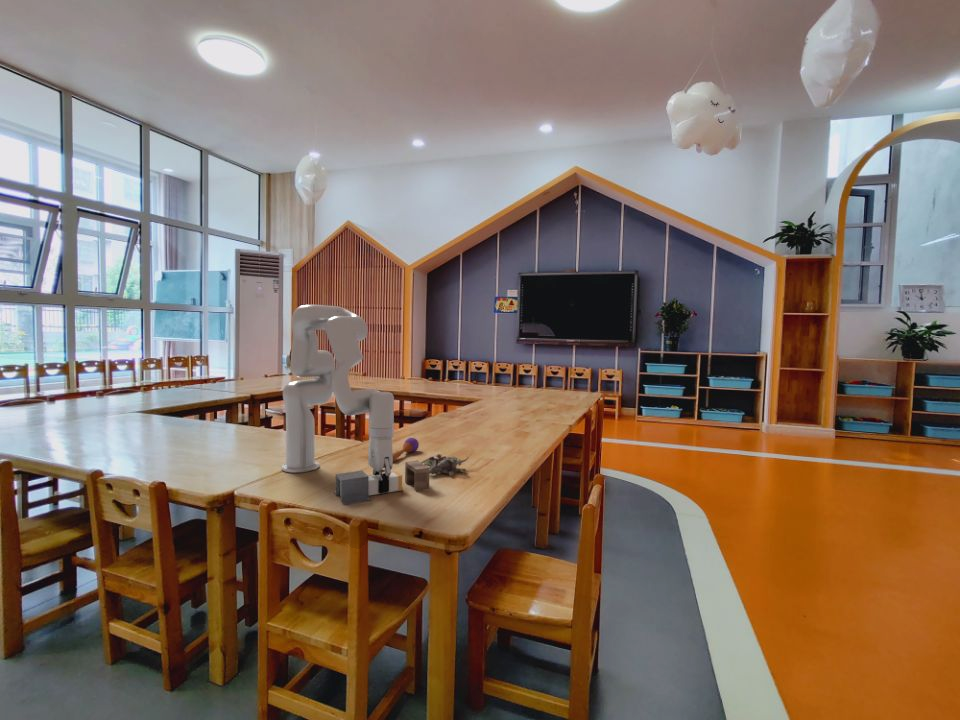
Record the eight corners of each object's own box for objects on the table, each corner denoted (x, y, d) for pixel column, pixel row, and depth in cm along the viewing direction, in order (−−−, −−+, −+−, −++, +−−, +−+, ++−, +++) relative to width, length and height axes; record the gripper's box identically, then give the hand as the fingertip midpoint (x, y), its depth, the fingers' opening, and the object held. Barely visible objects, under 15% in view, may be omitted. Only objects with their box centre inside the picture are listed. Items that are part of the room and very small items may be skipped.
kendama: (382, 451, 181) (406, 436, 200) (385, 466, 181) (409, 450, 200) (396, 450, 179) (419, 435, 198) (399, 465, 179) (422, 449, 198)
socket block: (405, 482, 157) (405, 462, 156) (417, 480, 159) (417, 460, 159) (416, 491, 149) (416, 469, 149) (429, 489, 151) (429, 467, 151)
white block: (340, 495, 144) (340, 479, 143) (396, 486, 153) (396, 471, 153) (344, 500, 140) (344, 484, 139) (402, 490, 149) (402, 475, 149)
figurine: (435, 467, 158) (403, 458, 169) (436, 485, 158) (404, 474, 170) (476, 453, 172) (444, 445, 184) (476, 469, 173) (444, 460, 184)
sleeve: (333, 492, 146) (333, 471, 146) (359, 488, 150) (359, 468, 150) (343, 505, 136) (343, 482, 136) (370, 500, 140) (371, 478, 140)
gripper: (361, 427, 152) (360, 483, 153) (378, 439, 137) (378, 500, 139) (383, 425, 156) (383, 480, 157) (403, 436, 141) (402, 496, 143)
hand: (380, 489), depth 148 cm, fingers closed on white block, 4 cm apart
